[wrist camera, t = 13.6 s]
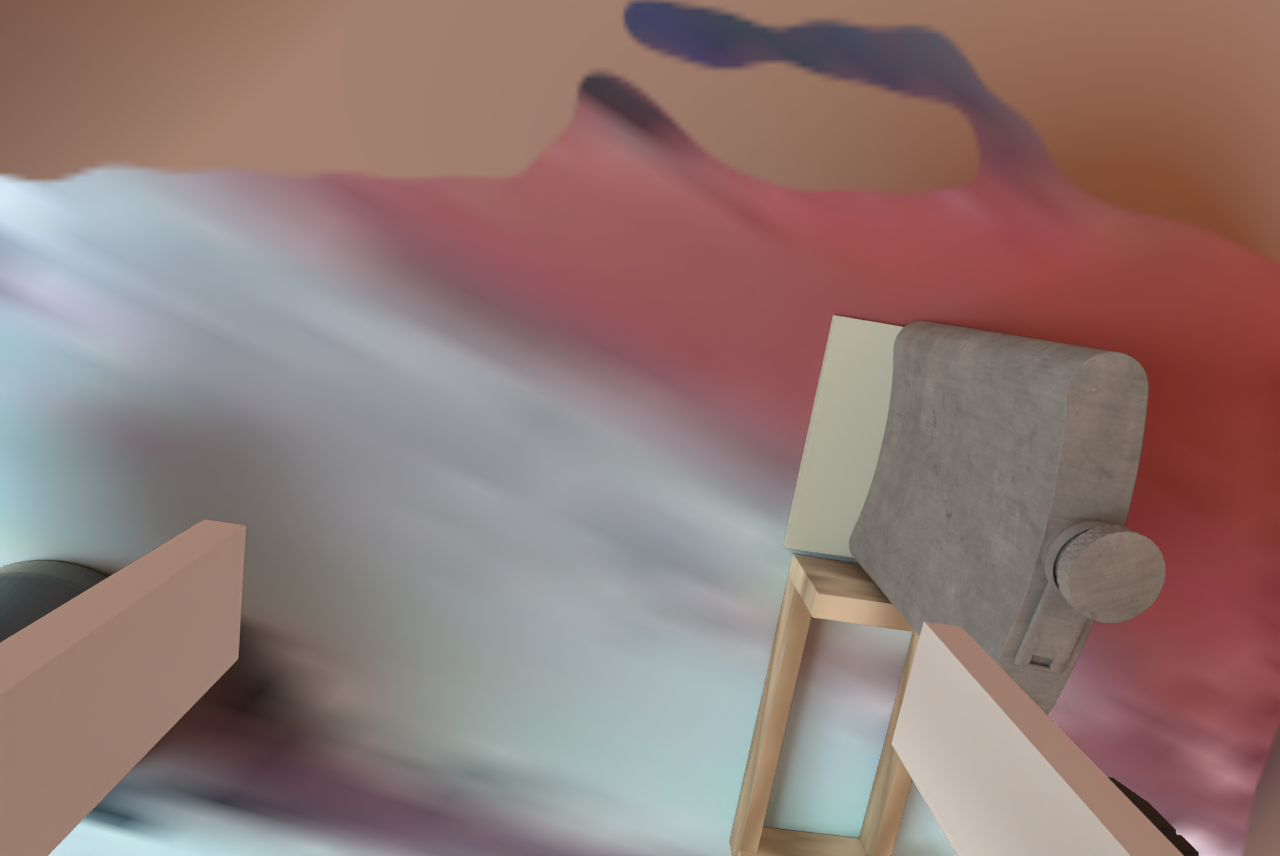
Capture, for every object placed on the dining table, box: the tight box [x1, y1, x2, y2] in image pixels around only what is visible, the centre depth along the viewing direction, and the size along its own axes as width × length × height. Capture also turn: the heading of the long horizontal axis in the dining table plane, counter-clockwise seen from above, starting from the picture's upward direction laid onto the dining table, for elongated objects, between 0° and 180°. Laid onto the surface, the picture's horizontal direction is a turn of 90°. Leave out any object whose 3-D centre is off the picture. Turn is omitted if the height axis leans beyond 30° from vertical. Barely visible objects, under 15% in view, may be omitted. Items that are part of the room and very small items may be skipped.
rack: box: [730, 554, 920, 856], centre depth 47 cm, size 10×22×6 cm, turn 170°
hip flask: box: [849, 321, 1166, 715], centre depth 36 cm, size 16×4×20 cm, turn 171°
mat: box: [783, 315, 904, 558], centre depth 46 cm, size 12×15×1 cm
